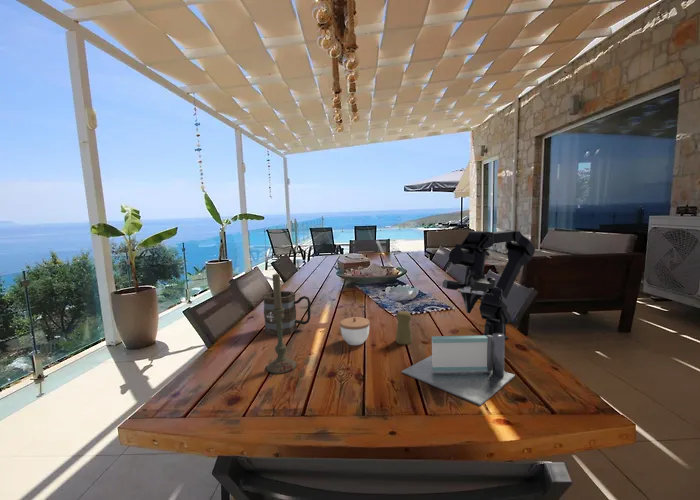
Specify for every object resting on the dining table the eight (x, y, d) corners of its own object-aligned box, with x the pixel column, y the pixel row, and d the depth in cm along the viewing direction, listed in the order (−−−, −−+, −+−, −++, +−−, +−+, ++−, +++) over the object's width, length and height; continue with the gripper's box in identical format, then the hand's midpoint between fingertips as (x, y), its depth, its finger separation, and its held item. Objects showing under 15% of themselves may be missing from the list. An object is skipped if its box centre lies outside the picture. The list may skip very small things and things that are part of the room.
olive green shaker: (412, 344, 117) (411, 314, 116) (395, 344, 118) (394, 314, 117) (412, 338, 123) (412, 309, 122) (396, 337, 124) (395, 309, 123)
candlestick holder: (270, 376, 98) (264, 276, 94) (263, 364, 106) (257, 271, 102) (300, 369, 102) (295, 272, 98) (291, 358, 110) (286, 268, 107)
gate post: (515, 376, 92) (515, 334, 91) (480, 405, 79) (480, 357, 78) (440, 352, 110) (440, 317, 109) (401, 372, 97) (401, 333, 96)
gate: (490, 368, 96) (491, 334, 95) (493, 371, 94) (493, 337, 93) (431, 368, 97) (431, 335, 96) (433, 372, 95) (433, 338, 94)
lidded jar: (373, 338, 125) (372, 313, 124) (365, 349, 115) (364, 323, 114) (346, 335, 128) (345, 312, 127) (336, 346, 118) (335, 320, 117)
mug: (260, 336, 131) (257, 299, 129) (268, 325, 144) (266, 291, 143) (310, 334, 131) (308, 297, 129) (313, 323, 144) (312, 289, 142)
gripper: (455, 264, 105) (448, 313, 105) (513, 273, 105) (506, 322, 105) (445, 263, 116) (438, 307, 116) (497, 270, 116) (491, 315, 116)
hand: (468, 312), depth 113 cm, fingers closed
